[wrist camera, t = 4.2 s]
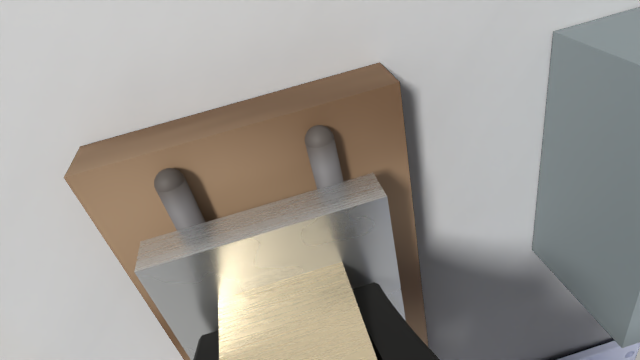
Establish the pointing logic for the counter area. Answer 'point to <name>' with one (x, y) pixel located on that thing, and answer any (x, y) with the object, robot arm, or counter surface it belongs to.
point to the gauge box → (594, 170)
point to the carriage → (278, 275)
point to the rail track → (254, 168)
